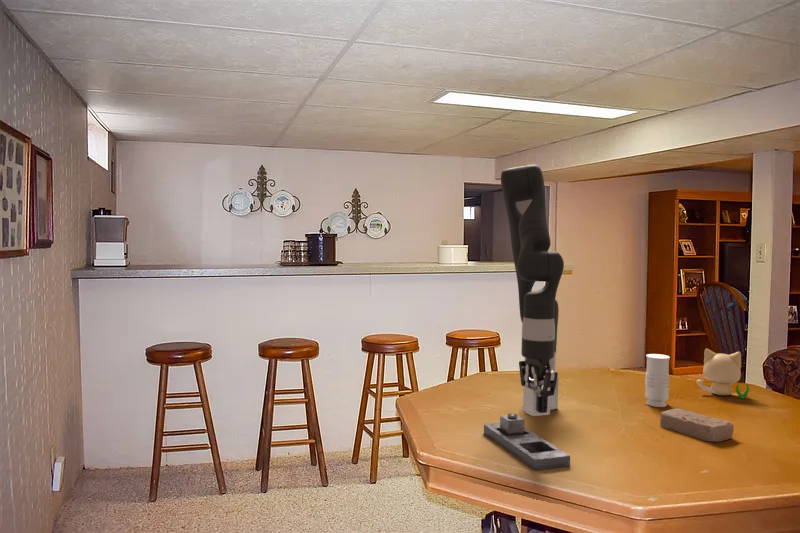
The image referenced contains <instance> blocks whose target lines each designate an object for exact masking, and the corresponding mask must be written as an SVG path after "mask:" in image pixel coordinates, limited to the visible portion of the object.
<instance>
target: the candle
mask: <svg viewBox="0 0 800 533" xmlns="http://www.w3.org/2000/svg"><path fill="white" fill-rule="evenodd" d="M645 355H646V356H645V357H646V371H645V377H644V378H645V381H644V382H645V384H644V386H645V394H644V398H646V399H647V400H646V405H649V406H651V407H656V408H657V407H658V408H659V407H660V408H665V407H667V406H668V405H667V402H666V401H668V400H669V399H670V398H669V389H670V376H671V375H670V374H669V370H670V366H669V364H670V359H671V356H669V355H666V354H659V353H648V354H645Z"/></svg>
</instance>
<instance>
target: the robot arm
mask: <svg viewBox="0 0 800 533" xmlns="http://www.w3.org/2000/svg"><path fill="white" fill-rule="evenodd" d="M500 174H501V175H500V184H501V185H500V186H501V191H502V195H503V200H504V201H503V202H504V205H505V210H506V215H507V219H508V226H509V232H510V243H511V251H512V252H511V253H512V257H513V262H514V263H513V264H514V269H515V274H516V281H517V289H518V291H517V292H518V303H519V304H518V305H519V316H520V321H521V323H522V324H521V353H520V354H521V356H522V357H523V358H524V360H519V361H518V367H519V376H520V384H521V387H524V385H532V383H534V385H535V386H536V387H537V393H538V405H537V411H538V412H539V413H546V412H547V404H548V396H550V412H551V411H553V410H555V409H558V408H559V377H558V371H556V370H557V344H558V342H557V341H558V325H559V311H560V310H559V309H560V308H559V302H558V301H557V300H556V297H557V291H558V287H559V285H560V281H561V278H562V276H563V273H564V268H565V263H564V259H563V257H562V255H561V254H560V253H559V252H557V251H553V250H551V251H550V250H549V249H550V247H551V244H552V243H551V237H550V232H549V228H548V223H547V213H546V212H547V204H546V203H547V201H546V200H547V199H546V188H545V180H544V175H543V171H542V169H541V167H540V166H539V165H538V164H526V165H521V166H515V167H510V168H505V169H503V170H502V172H501V173H500ZM530 200H531V202H530V203H529V205H528V207H527V208H526V209H525V211H524V212H522V211H521V209H520V207H519V205H518V202H519V203H520V202H523V201H524V202H525V201H530ZM536 282H545V284H544V286H543V287H542V288H540V289H538V290H533V287H534V285H535V283H536ZM532 290H533V291H532ZM541 386H543V389H542V390H541ZM549 389H550V390H549Z"/></svg>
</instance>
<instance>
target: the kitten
mask: <svg viewBox="0 0 800 533" xmlns="http://www.w3.org/2000/svg"><path fill="white" fill-rule="evenodd" d="M703 363H704V364H703V367H702V368H703V369H702V372H703V374H702V375H703V376H704V377H705V378H706V379H707V380H708V381H711V382H712V383H711V385H710V387H708V386H706V385H705V382H704V381H703V380H702V379H700V378H699V379H697V380H696V385H697V386H698V387H700V388H701V389H703V390H704V391H706V392H708V393H711V394H715V395H717V396H730V395H732V394H733V387H732V384H734V383H737V382H739V381H740V379H741V377H742V374H741V368H742V353H741V351H735V352H734V353H730V354H727V353H720V352H719V353H716V352H714V351H713V350H711V349H709V348H705V349H704V358H703ZM745 384H746V389H745V390H744V391H743V393H742V392H741V391H740V388H739V387H740V386H739V383H737V384H736V387H735V392H736V394H737V396H738V398H739V399H742V398H743V399H746V398H747V397H748V393H749V391H750V386H749V384H748V383H747V382H745Z"/></svg>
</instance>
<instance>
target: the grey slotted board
mask: <svg viewBox="0 0 800 533" xmlns="http://www.w3.org/2000/svg"><path fill="white" fill-rule="evenodd" d="M483 434H484V435H485V436H487V437H489V438H490V439H491V440H492V441H494V443H497V444H498V445H500V447H502V448H503V449H504V450H506V451H508V453H510V454H512V455H513V456H514V457H516V458H517V459H518V460H520V461H521V462H523V463H524V464H525V465H526V466H528V467H530V468H531V469H532V470H534V471H540V470H548V469H549V470H550V469H557V468H565V467H571V455H570V454H568V453H566V452H565V451H564V450H562V449H561V448H559V447H557V446H555V445H554V444H552V443H551V442H549V441H547V440H546V439H544V438H542V437H541V436H540V435H537V434H536V433H534V432H533V431H531V430H529V429H528V428H526V427H525V430H524V435H516V436H505V435H504V434H502V433H501V432H500V422H495V423H484V424H483Z"/></svg>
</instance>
